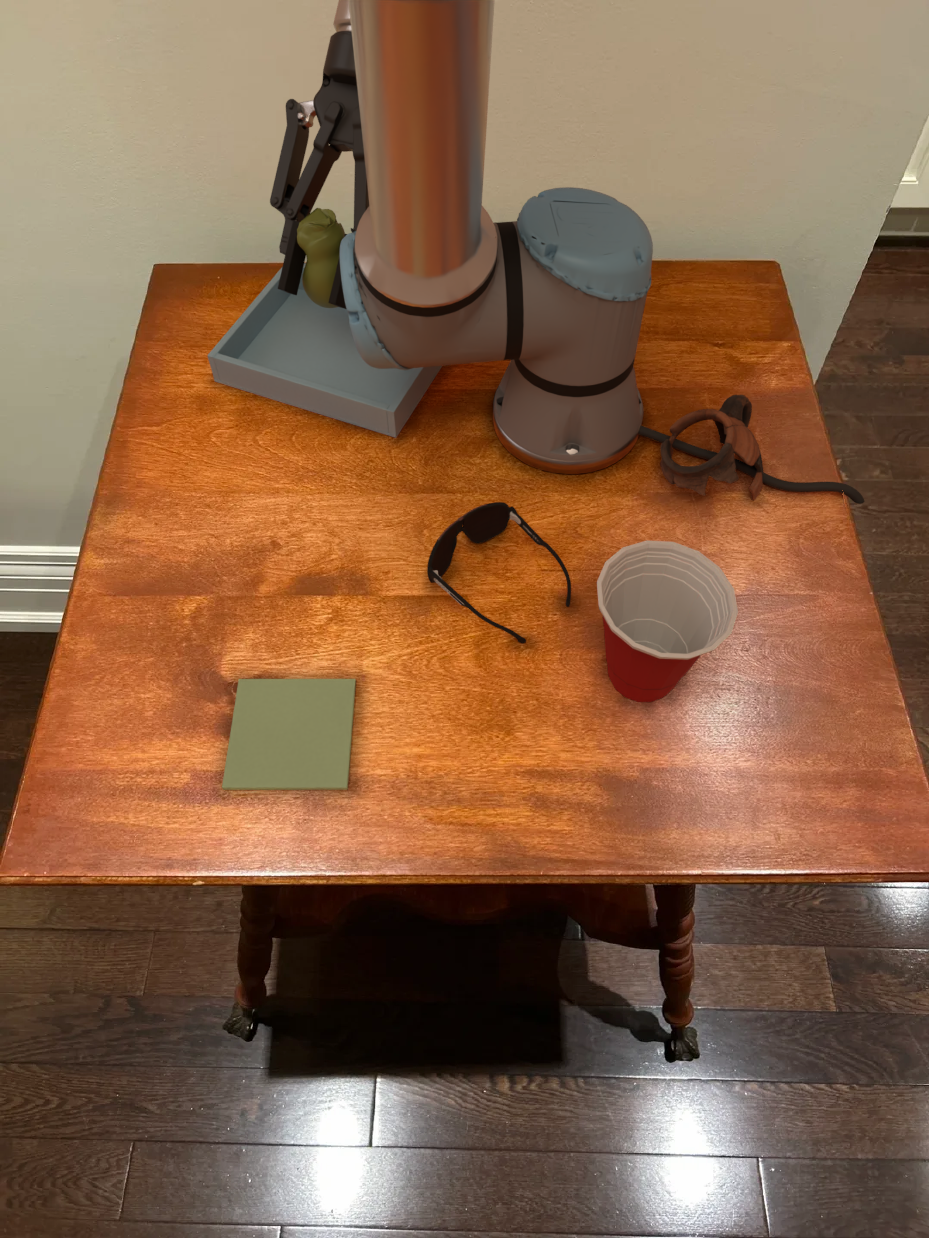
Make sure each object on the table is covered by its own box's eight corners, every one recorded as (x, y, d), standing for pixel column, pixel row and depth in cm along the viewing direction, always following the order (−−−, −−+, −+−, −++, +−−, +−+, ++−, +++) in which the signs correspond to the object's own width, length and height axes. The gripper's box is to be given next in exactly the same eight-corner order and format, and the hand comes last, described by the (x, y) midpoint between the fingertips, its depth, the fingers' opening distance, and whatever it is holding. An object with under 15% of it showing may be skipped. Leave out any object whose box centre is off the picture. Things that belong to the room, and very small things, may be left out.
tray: (463, 332, 106) (463, 306, 103) (396, 438, 97) (393, 412, 94) (293, 285, 111) (288, 258, 108) (214, 381, 102) (206, 355, 99)
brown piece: (756, 528, 91) (729, 481, 85) (667, 522, 97) (636, 477, 91) (791, 424, 94) (767, 371, 88) (702, 424, 100) (674, 374, 94)
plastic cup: (703, 741, 78) (737, 666, 68) (572, 718, 79) (587, 641, 69) (711, 632, 84) (743, 548, 74) (589, 612, 85) (605, 527, 75)
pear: (336, 326, 96) (323, 237, 88) (295, 308, 98) (278, 219, 89) (369, 296, 99) (359, 207, 90) (328, 279, 100) (315, 190, 92)
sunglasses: (495, 517, 91) (501, 486, 87) (584, 599, 88) (595, 572, 83) (413, 578, 87) (415, 549, 83) (503, 667, 84) (510, 642, 79)
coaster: (356, 681, 82) (355, 678, 81) (348, 790, 76) (347, 787, 76) (239, 681, 82) (238, 678, 81) (223, 790, 76) (221, 787, 76)
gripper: (471, 80, 90) (407, 327, 95) (304, 45, 94) (252, 284, 99) (447, 46, 83) (380, 315, 88) (267, 10, 87) (213, 269, 92)
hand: (312, 298), depth 94 cm, fingers closed on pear, 5 cm apart
